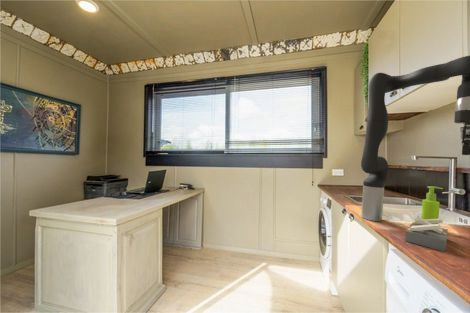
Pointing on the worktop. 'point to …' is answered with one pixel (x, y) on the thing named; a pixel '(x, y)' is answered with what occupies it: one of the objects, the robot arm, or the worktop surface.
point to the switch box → (427, 237)
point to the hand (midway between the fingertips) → (466, 155)
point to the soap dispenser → (430, 205)
